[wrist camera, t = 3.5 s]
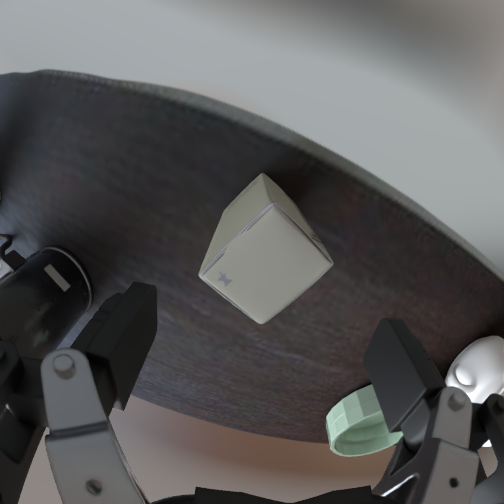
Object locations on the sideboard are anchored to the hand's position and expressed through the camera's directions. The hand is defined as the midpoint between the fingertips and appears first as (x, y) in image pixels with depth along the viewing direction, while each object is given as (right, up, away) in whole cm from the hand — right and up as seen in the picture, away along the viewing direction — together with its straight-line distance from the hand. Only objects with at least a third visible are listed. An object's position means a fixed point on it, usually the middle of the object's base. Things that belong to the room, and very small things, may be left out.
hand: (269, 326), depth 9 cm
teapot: (+37, -16, +24) cm, 47 cm away
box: (0, +7, +15) cm, 17 cm away
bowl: (+18, -22, +27) cm, 40 cm away
